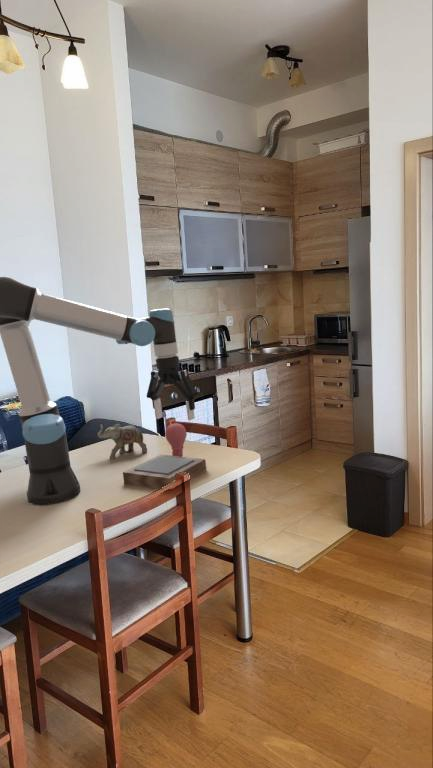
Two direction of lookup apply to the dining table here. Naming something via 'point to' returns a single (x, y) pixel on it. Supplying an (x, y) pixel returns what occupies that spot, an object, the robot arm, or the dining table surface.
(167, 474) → the stand
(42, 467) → the robot arm
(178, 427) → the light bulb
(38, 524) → the dining table surface
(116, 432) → the figurine
